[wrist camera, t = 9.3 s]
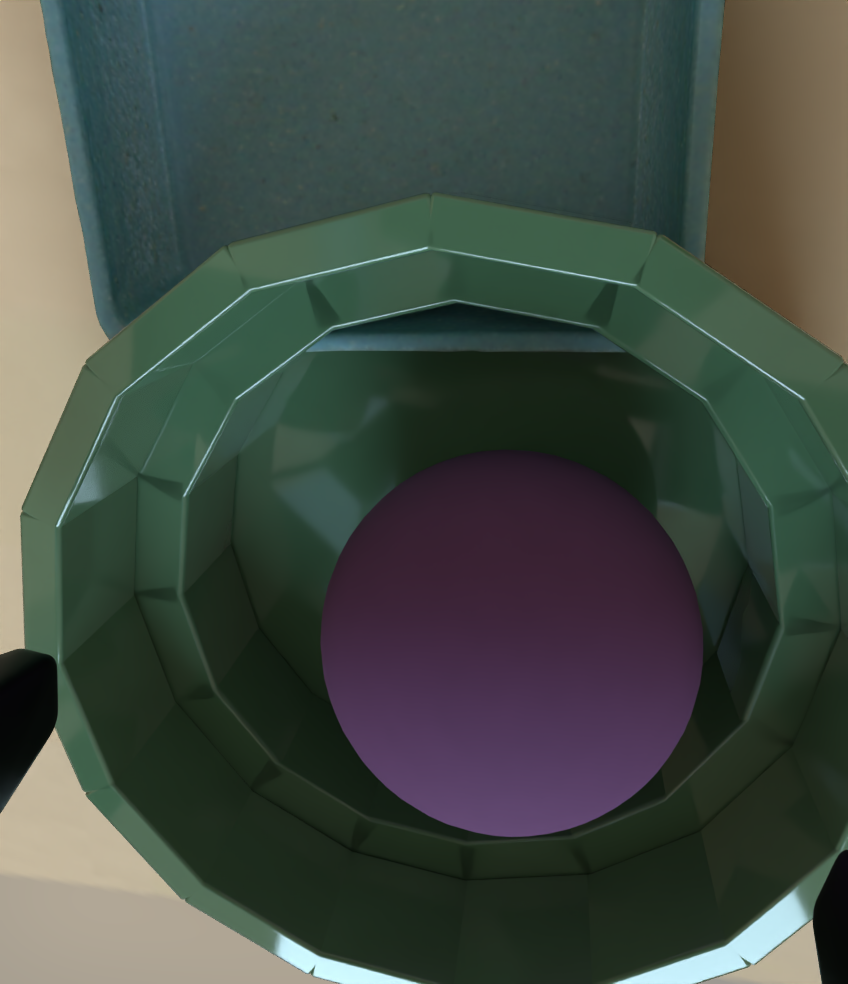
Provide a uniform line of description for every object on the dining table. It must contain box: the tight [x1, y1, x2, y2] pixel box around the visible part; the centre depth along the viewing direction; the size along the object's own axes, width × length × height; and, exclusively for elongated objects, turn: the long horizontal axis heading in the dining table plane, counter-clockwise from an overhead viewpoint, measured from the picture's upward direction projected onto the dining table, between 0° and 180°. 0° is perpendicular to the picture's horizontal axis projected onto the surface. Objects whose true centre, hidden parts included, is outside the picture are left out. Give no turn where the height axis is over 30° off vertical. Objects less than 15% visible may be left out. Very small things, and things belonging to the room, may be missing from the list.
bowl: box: [20, 192, 848, 984], centre depth 13 cm, size 12×12×5 cm
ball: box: [320, 450, 703, 837], centre depth 12 cm, size 6×6×6 cm
